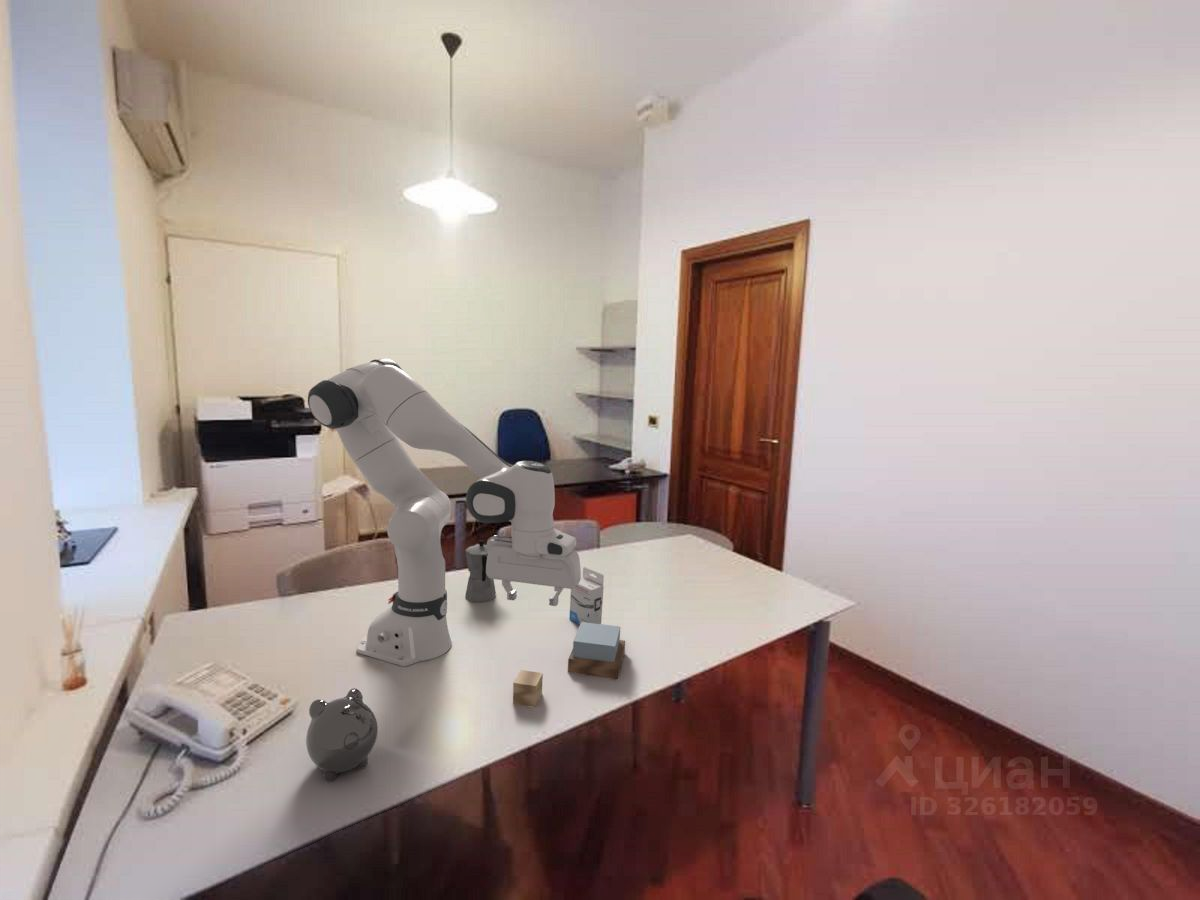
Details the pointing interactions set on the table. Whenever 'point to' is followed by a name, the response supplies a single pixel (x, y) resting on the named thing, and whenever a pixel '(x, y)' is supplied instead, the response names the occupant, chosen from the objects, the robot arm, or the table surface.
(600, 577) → the ink box
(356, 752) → the piggy bank
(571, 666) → the tower base
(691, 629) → the table surface
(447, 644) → the robot arm
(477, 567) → the coffeepot
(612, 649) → the tower top
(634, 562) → the table surface
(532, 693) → the oak block
